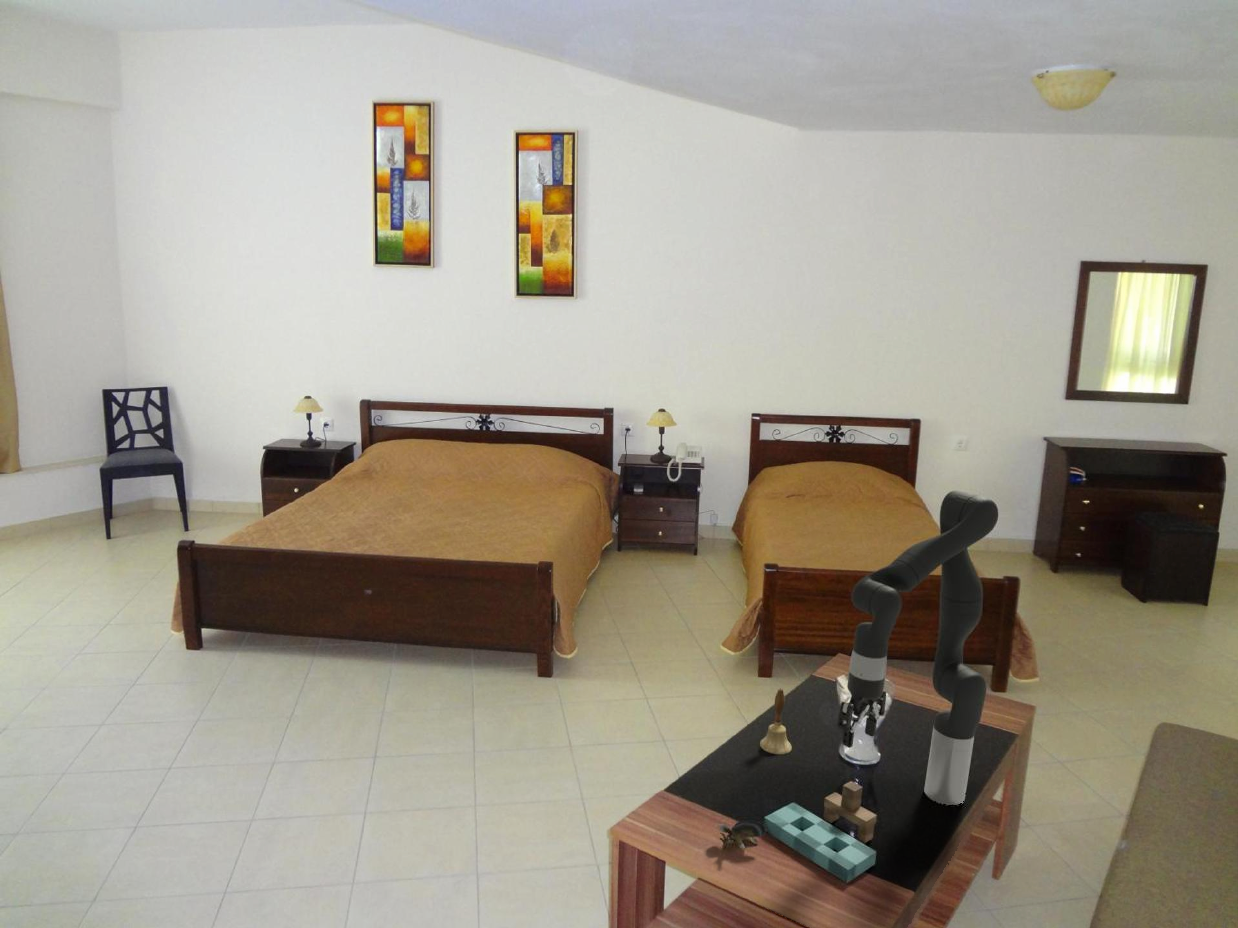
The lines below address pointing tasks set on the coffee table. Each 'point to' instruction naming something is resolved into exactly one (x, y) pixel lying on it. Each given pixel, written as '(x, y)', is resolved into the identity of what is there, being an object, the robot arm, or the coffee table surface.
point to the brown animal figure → (742, 833)
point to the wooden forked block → (850, 810)
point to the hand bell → (777, 730)
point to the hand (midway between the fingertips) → (858, 740)
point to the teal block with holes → (820, 842)
